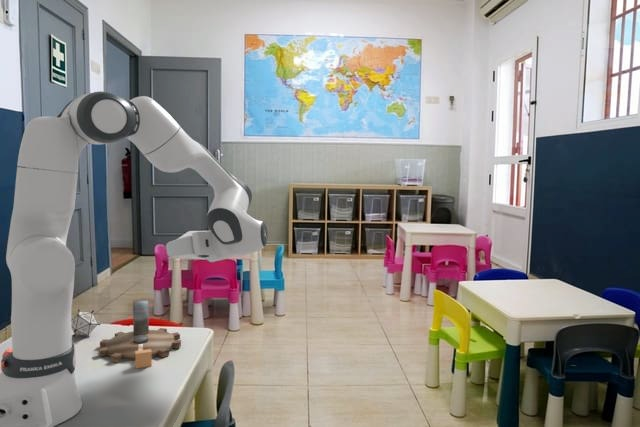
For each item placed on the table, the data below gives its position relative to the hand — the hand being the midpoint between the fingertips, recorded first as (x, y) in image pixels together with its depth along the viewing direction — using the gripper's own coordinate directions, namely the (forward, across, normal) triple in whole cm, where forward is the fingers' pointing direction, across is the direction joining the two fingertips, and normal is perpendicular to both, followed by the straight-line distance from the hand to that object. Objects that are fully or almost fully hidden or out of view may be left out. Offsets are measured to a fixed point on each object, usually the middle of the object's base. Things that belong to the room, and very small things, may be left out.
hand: (171, 255), depth 135 cm
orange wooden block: (+9, +6, +29) cm, 31 cm away
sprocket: (+16, -4, +24) cm, 30 cm away
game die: (+38, -6, +18) cm, 42 cm away
